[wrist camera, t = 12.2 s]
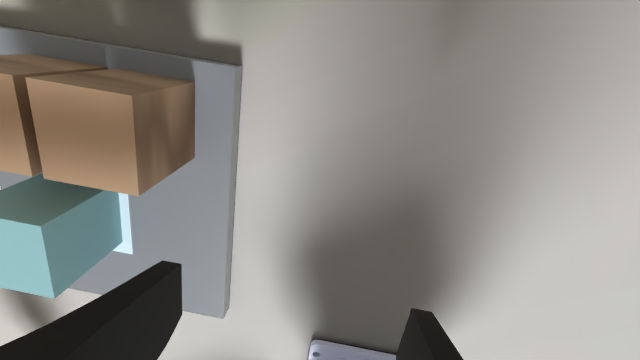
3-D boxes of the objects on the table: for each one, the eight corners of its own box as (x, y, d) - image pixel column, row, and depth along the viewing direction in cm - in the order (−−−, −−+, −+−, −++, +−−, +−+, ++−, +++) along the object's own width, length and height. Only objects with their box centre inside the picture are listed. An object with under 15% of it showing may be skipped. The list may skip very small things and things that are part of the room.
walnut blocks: (194, 157, 18) (138, 196, 13) (44, 130, 18) (-60, 159, 14) (195, 81, 17) (131, 95, 12) (31, 54, 17) (-92, 57, 12)
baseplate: (228, 307, 23) (222, 320, 22) (36, 270, 24) (21, 279, 23) (242, 65, 17) (234, 67, 16) (-19, 22, 18) (-42, 21, 17)
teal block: (122, 241, 21) (54, 298, 16) (60, 229, 21) (-25, 282, 16) (117, 182, 19) (40, 226, 14) (50, 169, 19) (-47, 209, 15)
